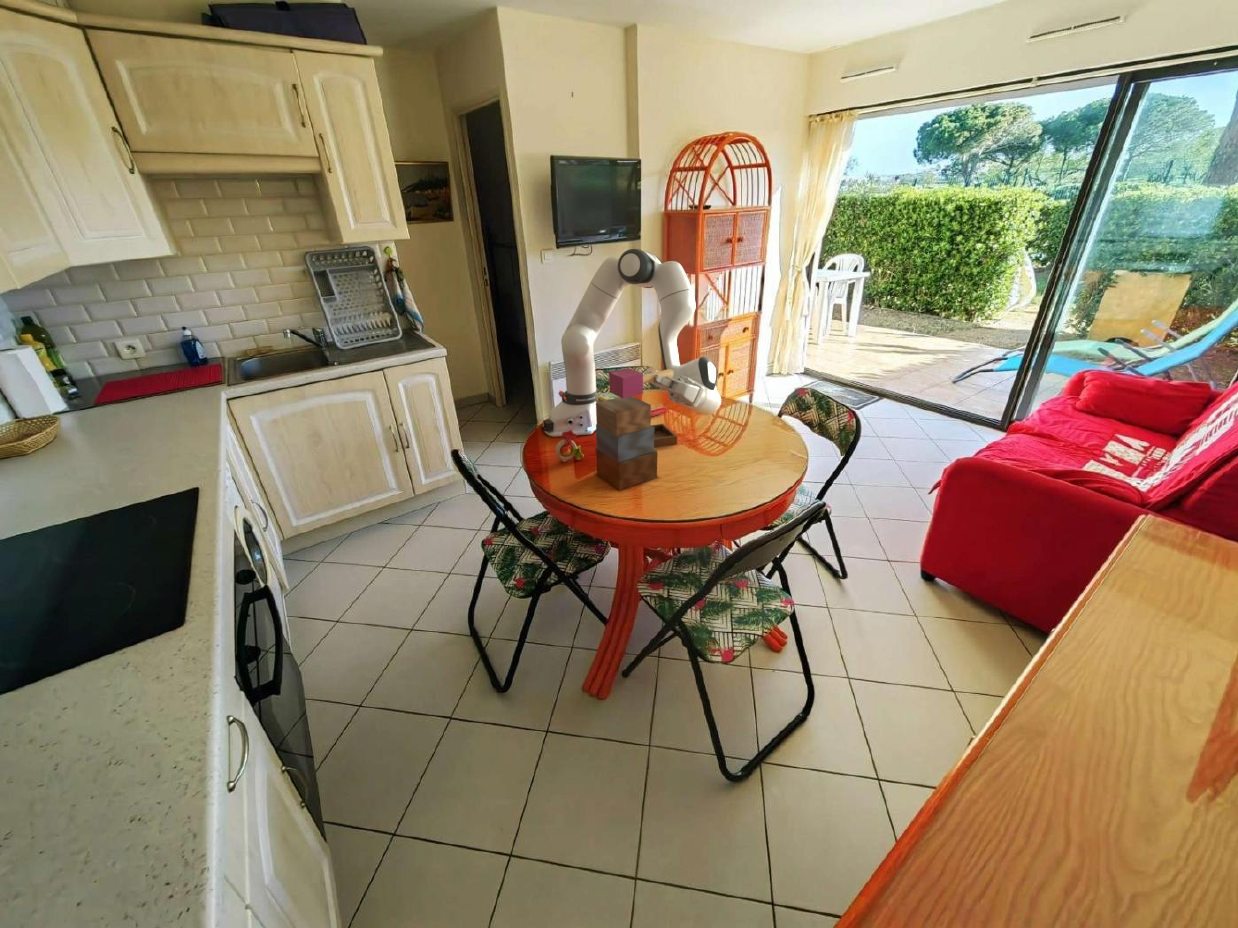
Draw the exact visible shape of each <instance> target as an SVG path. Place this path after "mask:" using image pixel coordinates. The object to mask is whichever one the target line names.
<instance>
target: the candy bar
mask: <svg viewBox="0 0 1238 928" xmlns="http://www.w3.org/2000/svg"><path fill="white" fill-rule="evenodd" d="M668 409H669V408H668V407H666V406H657V407H654V408H651V417H654V416H657V415H661V414H664V413H667V411H668Z"/></svg>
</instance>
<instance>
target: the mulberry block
mask: <svg viewBox="0 0 1238 928" xmlns="http://www.w3.org/2000/svg"><path fill="white" fill-rule="evenodd" d="M655 375H659V376H661V377H664V378H667V377H670V378H671V377H673V375H674V373H673V370H672V369H667V370H664V369H662V370H658V371H654V372H653V373H649V374H644V373H642V372H640V371H637V370H635V369H632V368H630V367H627V368H623V369H618V370H613V371H609V372H608V381H609V383H608V384H609V386H608V387H609V392H610V393H612V394H615V395H617V396H619V397H621V398H627V397H635V396H640V395H644V385H645V384H650V383H649V382H654V381H655V380H654V377H655Z"/></svg>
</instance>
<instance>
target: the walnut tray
mask: <svg viewBox="0 0 1238 928" xmlns="http://www.w3.org/2000/svg"><path fill="white" fill-rule="evenodd" d="M651 426H653V427H654V448H658V447H664V446H665V447H666V446H672V445H677V443H678V435H677V434H676V433H674V432H673V431H672V430H671V429H670V428H669V427H668V426H667V425H666V424H665V423H658V424H651Z"/></svg>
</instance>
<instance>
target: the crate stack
mask: <svg viewBox="0 0 1238 928" xmlns="http://www.w3.org/2000/svg"><path fill="white" fill-rule="evenodd" d="M651 409H652V405H651V404H650V403H647V402H645V401H643V400H641V399H639V398H636V397H635V396H632V397H627V398H621V397H619V398H615V399H610V400H606V401H602V402H597V403H596V421H597V424H596V430H595V438H596V448H595V457H596V458H595V459H596V475H598V476H599V477H601V478H602V479H603V480H605V481H606V482H608V483H609V484H610V485H612V486H613V487H614V488H616V489H617V490H618V491H621V490H625V489H627V488H630V487H633V486H636V485H639V484H642V483H645V482H648V481H651V480H654V479H657V478H658V450H656V449H655V447H654V427H653V426H651V425H652V422H651V420H652V416H651Z"/></svg>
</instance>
